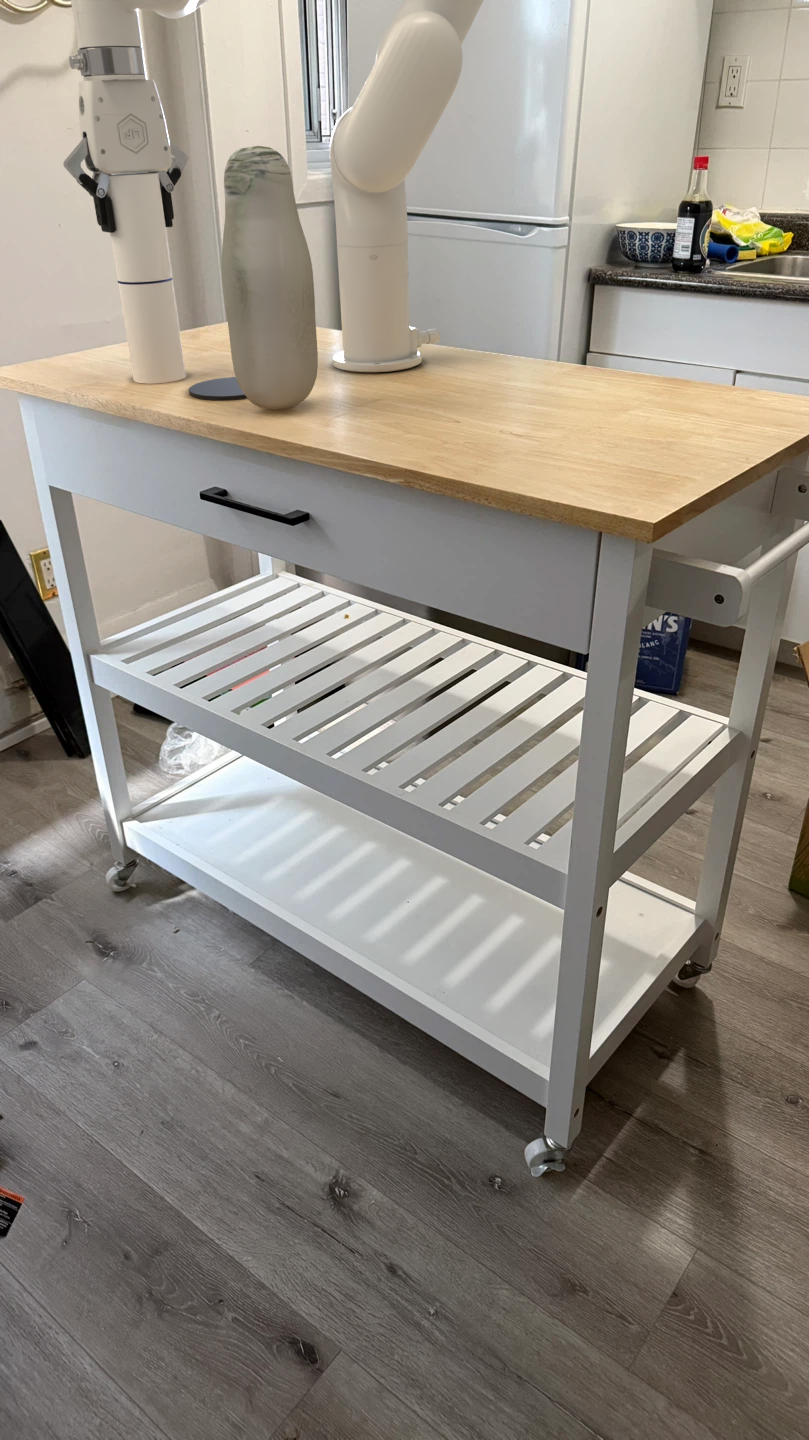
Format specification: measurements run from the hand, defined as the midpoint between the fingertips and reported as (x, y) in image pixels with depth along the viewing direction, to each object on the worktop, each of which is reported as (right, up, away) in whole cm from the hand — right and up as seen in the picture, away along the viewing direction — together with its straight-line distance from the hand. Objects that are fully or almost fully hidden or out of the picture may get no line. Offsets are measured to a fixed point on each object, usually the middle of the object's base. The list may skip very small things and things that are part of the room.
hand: (137, 228), depth 133 cm
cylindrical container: (+1, -16, +10) cm, 19 cm away
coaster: (+12, -20, +2) cm, 24 cm away
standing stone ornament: (+19, -26, -7) cm, 33 cm away
